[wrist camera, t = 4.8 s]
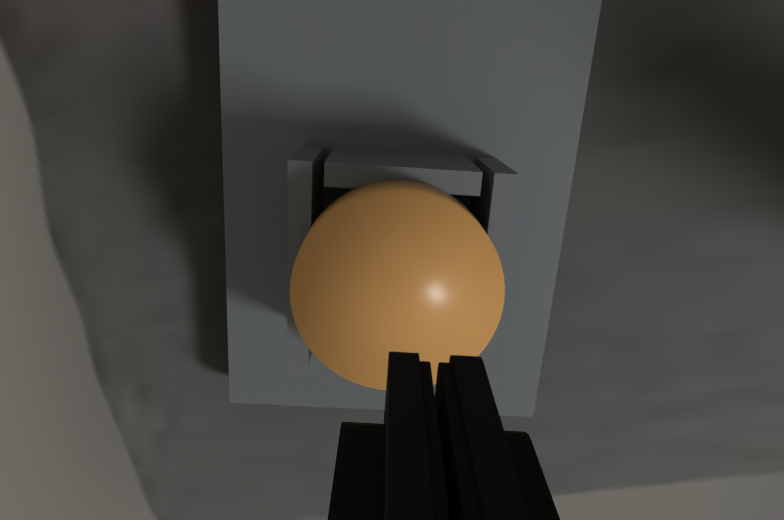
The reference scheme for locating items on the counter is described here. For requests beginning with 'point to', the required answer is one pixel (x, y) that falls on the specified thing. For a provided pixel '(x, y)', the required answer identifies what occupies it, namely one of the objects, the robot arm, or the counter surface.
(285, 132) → the console
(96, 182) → the counter surface
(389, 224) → the knob
